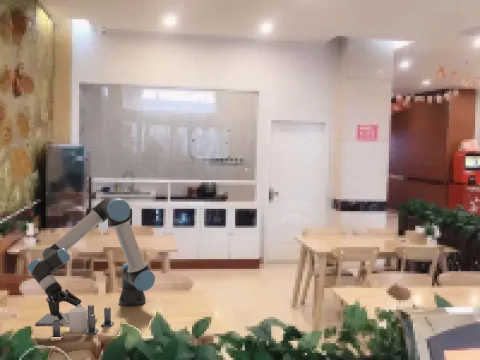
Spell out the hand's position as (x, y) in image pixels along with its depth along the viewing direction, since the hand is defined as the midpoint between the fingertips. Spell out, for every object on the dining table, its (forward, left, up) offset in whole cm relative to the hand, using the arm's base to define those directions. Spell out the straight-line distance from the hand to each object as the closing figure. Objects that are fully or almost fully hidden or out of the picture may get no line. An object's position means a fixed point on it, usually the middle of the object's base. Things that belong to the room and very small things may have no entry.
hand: (76, 319), depth 248 cm
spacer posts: (-4, -1, -5) cm, 6 cm away
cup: (+1, -1, -5) cm, 6 cm away
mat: (+13, -16, -5) cm, 21 cm away
